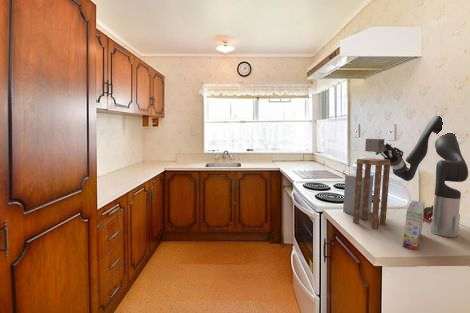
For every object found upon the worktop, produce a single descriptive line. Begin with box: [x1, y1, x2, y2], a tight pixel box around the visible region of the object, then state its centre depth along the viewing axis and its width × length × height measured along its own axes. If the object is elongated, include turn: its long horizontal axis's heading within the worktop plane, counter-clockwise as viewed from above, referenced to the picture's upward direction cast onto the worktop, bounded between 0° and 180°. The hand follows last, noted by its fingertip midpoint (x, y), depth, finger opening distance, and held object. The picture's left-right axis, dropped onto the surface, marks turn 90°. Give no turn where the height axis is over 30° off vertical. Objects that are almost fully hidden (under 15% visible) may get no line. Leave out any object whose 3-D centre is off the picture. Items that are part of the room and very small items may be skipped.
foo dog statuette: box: [423, 205, 433, 222], centre depth 141 cm, size 8×10×12 cm
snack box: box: [402, 200, 426, 251], centre depth 115 cm, size 21×6×15 cm, turn 143°
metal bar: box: [364, 138, 393, 153], centre depth 135 cm, size 6×18×6 cm, turn 128°
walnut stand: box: [352, 157, 391, 230], centre depth 134 cm, size 11×10×32 cm
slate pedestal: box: [342, 172, 375, 217], centre depth 154 cm, size 10×12×21 cm
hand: (382, 144), depth 137 cm, fingers closed on metal bar, 3 cm apart
